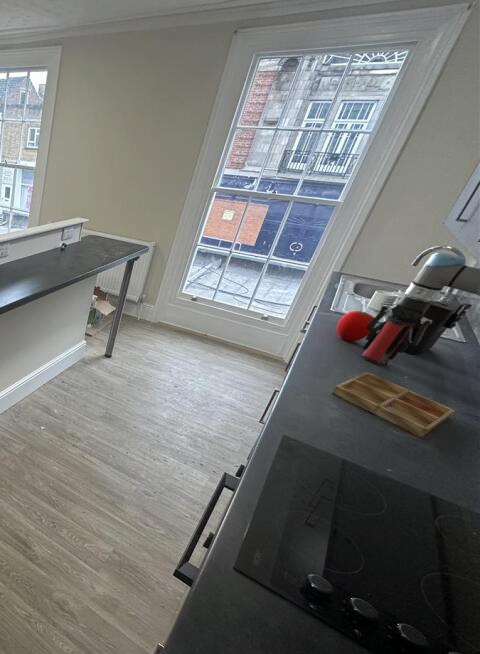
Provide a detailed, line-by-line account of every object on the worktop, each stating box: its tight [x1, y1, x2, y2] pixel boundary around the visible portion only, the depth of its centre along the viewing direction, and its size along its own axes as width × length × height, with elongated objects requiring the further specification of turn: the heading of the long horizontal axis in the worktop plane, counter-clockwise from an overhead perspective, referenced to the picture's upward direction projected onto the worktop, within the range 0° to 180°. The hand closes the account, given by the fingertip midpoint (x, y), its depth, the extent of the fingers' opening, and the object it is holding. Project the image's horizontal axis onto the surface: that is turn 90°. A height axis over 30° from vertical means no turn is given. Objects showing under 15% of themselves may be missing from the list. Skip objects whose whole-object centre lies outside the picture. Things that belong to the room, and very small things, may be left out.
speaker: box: [360, 314, 416, 366], centre depth 149 cm, size 8×8×18 cm
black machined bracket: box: [402, 300, 473, 356], centre depth 161 cm, size 12×21×22 cm, turn 119°
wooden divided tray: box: [331, 371, 456, 439], centre depth 126 cm, size 22×22×3 cm
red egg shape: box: [336, 310, 376, 342], centre depth 165 cm, size 11×11×13 cm
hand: (378, 353), depth 152 cm, fingers closed on speaker, 7 cm apart
